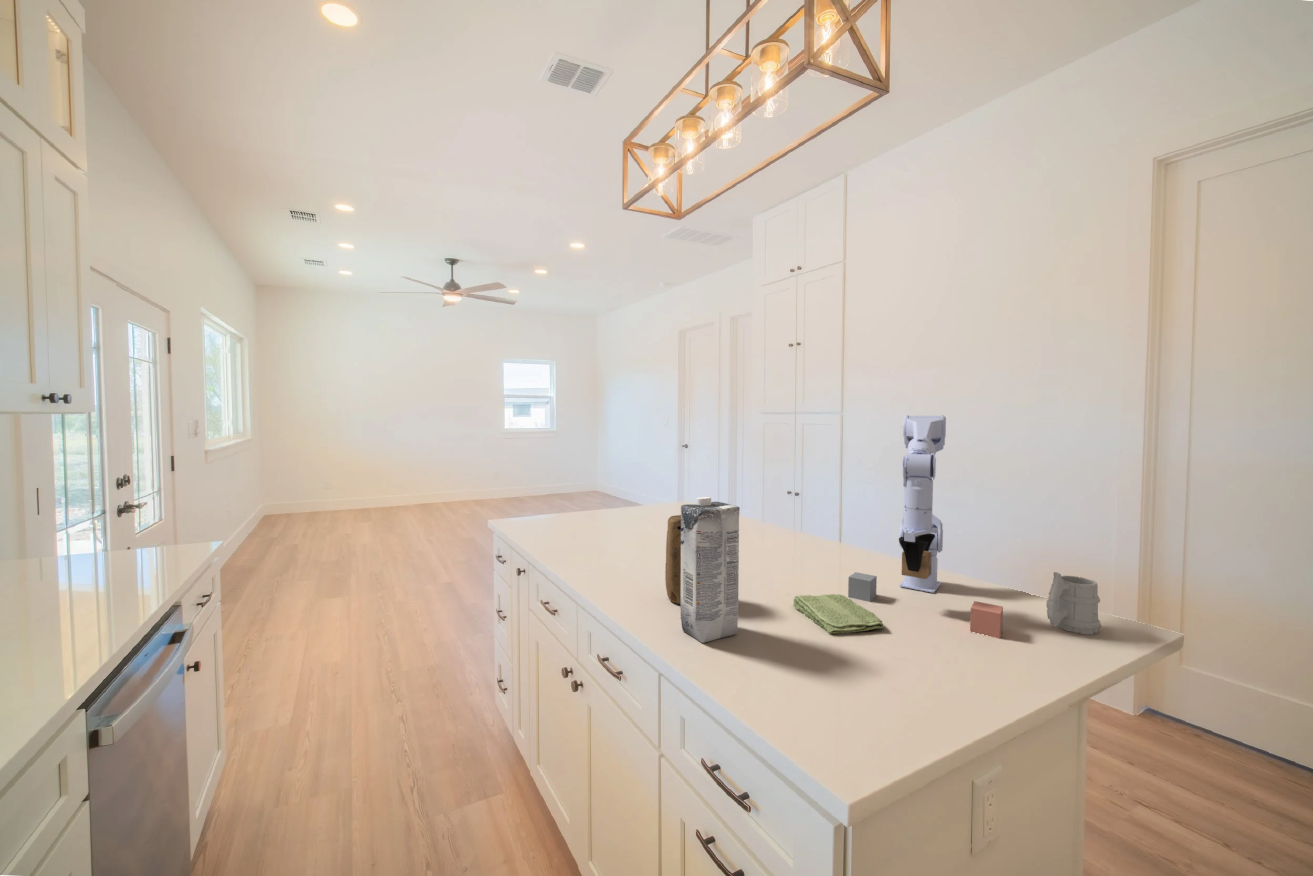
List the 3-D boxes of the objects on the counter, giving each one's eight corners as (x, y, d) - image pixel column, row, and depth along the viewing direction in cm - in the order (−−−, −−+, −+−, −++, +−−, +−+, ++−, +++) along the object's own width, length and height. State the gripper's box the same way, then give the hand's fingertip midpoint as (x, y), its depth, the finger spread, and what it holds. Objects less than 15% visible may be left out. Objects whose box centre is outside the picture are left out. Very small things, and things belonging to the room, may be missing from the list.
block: (669, 606, 119) (669, 519, 119) (663, 595, 127) (664, 513, 126) (715, 604, 121) (716, 518, 120) (707, 593, 128) (708, 512, 128)
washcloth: (829, 639, 103) (830, 623, 103) (789, 607, 121) (789, 593, 120) (889, 634, 106) (889, 618, 106) (841, 603, 123) (841, 589, 123)
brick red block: (973, 624, 110) (974, 601, 110) (1002, 630, 107) (1003, 606, 106) (970, 632, 106) (970, 608, 106) (999, 639, 103) (1000, 613, 103)
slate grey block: (855, 592, 130) (855, 572, 130) (876, 596, 127) (876, 576, 127) (848, 597, 126) (848, 577, 126) (869, 602, 123) (870, 581, 123)
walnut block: (907, 569, 121) (907, 548, 121) (931, 573, 118) (931, 551, 118) (901, 574, 117) (902, 552, 117) (926, 579, 114) (926, 556, 114)
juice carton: (744, 635, 104) (745, 499, 103) (701, 647, 98) (701, 504, 97) (716, 620, 112) (717, 493, 110) (675, 630, 106) (675, 497, 105)
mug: (1109, 632, 106) (1111, 573, 105) (1068, 640, 102) (1070, 579, 101) (1069, 618, 113) (1071, 563, 112) (1029, 625, 109) (1031, 568, 109)
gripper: (930, 514, 109) (929, 579, 110) (944, 505, 120) (943, 564, 121) (894, 510, 113) (893, 572, 114) (911, 502, 125) (909, 558, 125)
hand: (916, 567), depth 118 cm, fingers closed on walnut block, 5 cm apart
